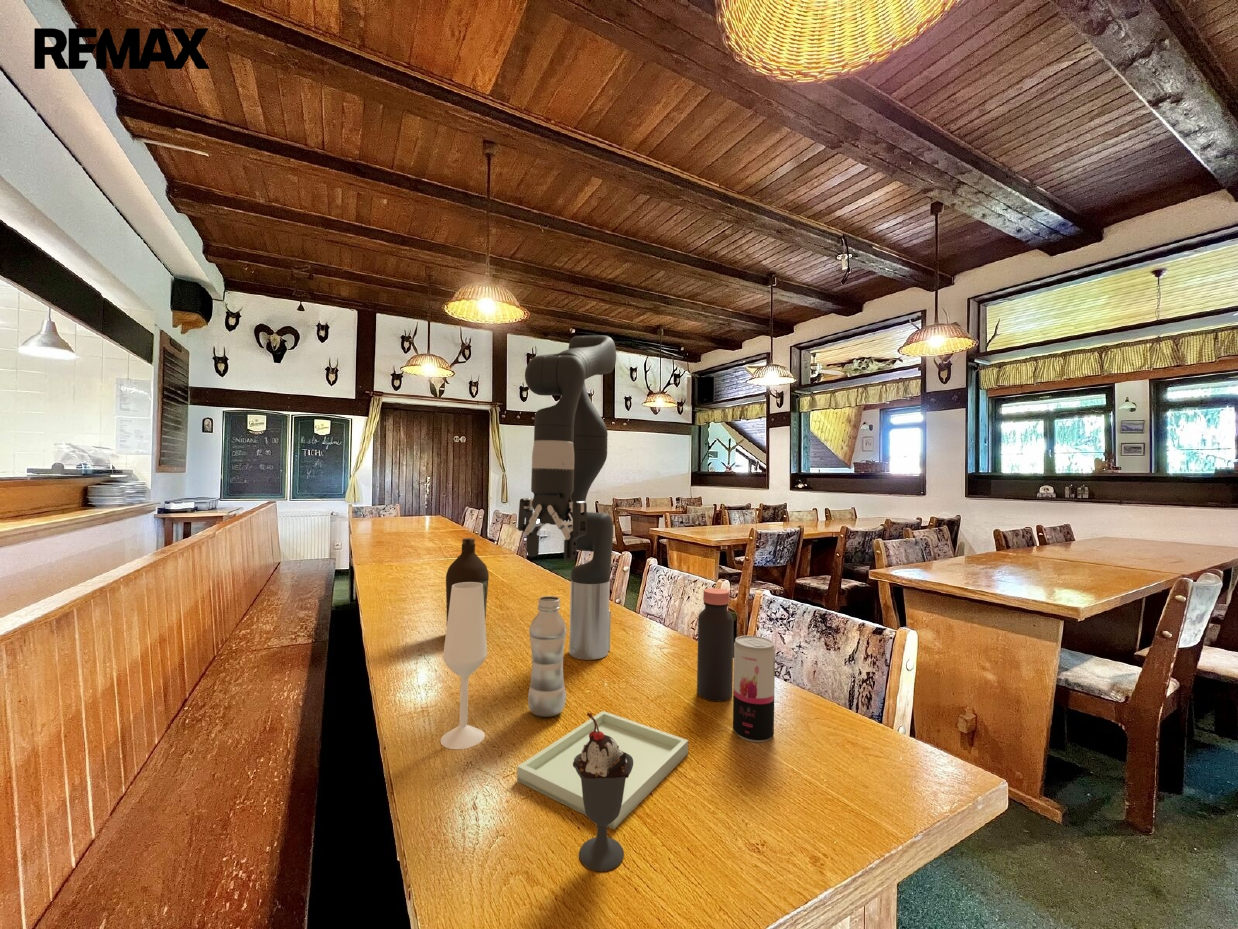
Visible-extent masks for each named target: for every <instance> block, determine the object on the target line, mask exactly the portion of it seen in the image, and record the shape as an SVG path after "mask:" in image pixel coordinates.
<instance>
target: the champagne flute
mask: <svg viewBox="0 0 1238 929" xmlns="http://www.w3.org/2000/svg"><path fill="white" fill-rule="evenodd" d="M444 639H445V640H444V645H443V652H442V653H443V654H442V658H443V661H444V663H445V665H446V666H447V668H448V669H450V671H452V672H453V673H454V674H456V675H457V676H459V677H460V690H459V691H460V694H459V696H460V697H459V699H460V700H459V725H458V726H455V727H454V728H453V729H451V730H449V731H448V732H446V733H444V735H442V736H441V738H440V744H441V746H443V747H444V748H446V749H450V750H465V749H468V748H470V749H471V748H472V747H475V746H477V745H479V744H480V743H481V742H483V740H484V739H485V736H486V735H485V732H484V731H483V730H482V729H481V728H480V729H479V728H477V727H474V726H472V725H471V724H468V707H469V705H468V703H469V702H468V701H469V677H470V676H471V675H472V674H474V673H475V672H476V671H477V670H478V669H479V668H480V667H481V666H482V665H483V663H484V662H485V660H486V658H487V656H488V645H487V627H486V619H485V611H484V595H483V584H482V583H478V582H462V583H456V584H453V585H452V589H451V597H450V605H449V613H448V621H447V620H446V630H445V638H444Z"/></svg>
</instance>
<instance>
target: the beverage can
mask: <svg viewBox="0 0 1238 929" xmlns="http://www.w3.org/2000/svg"><path fill="white" fill-rule="evenodd" d="M775 666H776V647H775V643H774V641H773V640H771V639H769V638H766V637H763V636H758V635H741V636H737V637H735V641H734V642H733V687H732V698H733V700H732V730H733V731H734V733H735V734H736V735H737V736H738V737H740V738H741V739H743V740H745V741H748V742H752V743H765V742H767V741H769V740H770V739H772V738H773V737H774V734H775V689H776V688H775V685H776V684H775V681H776V680H775V678H776V677H775V676H776V674H775V673H776V672H775V670H776V667H775Z"/></svg>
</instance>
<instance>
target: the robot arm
mask: <svg viewBox="0 0 1238 929" xmlns="http://www.w3.org/2000/svg"><path fill="white" fill-rule="evenodd" d="M616 364H617V349H616V344H615V342H614V339H612V337H610V336H609V335H602V334H601V335H600V334H599V335H597V334H596V335H595V334H594V335H576V336H573V337H572V338H570V341H569V344H568V348H567V349H565V350H563V351H560V352H558V353H550V354H540V355H535V356H534V357H532V359H530V360H529V361H528V363H527V365H526V367H525V371H524V380H525V383H526V385H527V387H528V389H529V390H530V391H531V392H532V393H533V394H535V395H539V396H561V397H560V398H559V400H558V401H557V403H555V404H553V405H551V406H547V407H543V408H540V409H538V410H537V411H536V412H535V414H534V431H533V432H534V433H533V446H532V453H531V479H530V480H531V483H530V487H531V488H530V492H531V493H533V498H532V497H531V498H529V497H525V498H524V497H523V498H520V499H519V504H518V505H519V506H518V507H519V508H518V517H517V518H518V520H517V521H518V522H517V529H518V530H517V531H519V532H522V533H524V534H525V535H526V547H525V550H526V554H527V556H528V557H536V556H539V553H540V534H539V532H540V531H541V529H542V528H543V527H544V526H546V525H547V524H549V525H552V526H553V525H554V526H556V527H557V528H558V529H559V530H560V531H561V532H562V535H563V537H564V540H563V541H564V542H563V561H564V562H568V563H569V562H573V561H574V560H575V559H576V557H577V555H578V551H580V552H592V553H593V554H592V558H591V560H590V561H588V562H585V563H582V564H578V565H575V566H573V567H572V568H571V571H570V604H569V605H570V606H569V607H570V608H569V635H568V636H569V641H568V642H569V643H568V644H569V645H568V653H569V655H570V657H573V658H574V659H578V660H585V661H586V660H587V661H591V660H593V661H594V660H598V659H599V660H600V659H602V658H605V657H607V656H608V654H609V652H610V651H611V628H612V627H611V624H612V623H611V621H612V615H611V614H612V611H611V610H610V590H611V589H610V585H611V584H610V582H611V580H610V579H611V569H612V557H613V556H612V554H613V552H612V551H613V540H614V522H613V519H612V517H611V515H610V514H609V513H606V512H592V511H591V512H590V511H588V510H587V509H588V507H587V506H588V504H587V502H586V501H587V496H588V493H589V491H590V488H591V487H592V485H593V482H594V481H595V479H596V478H597V477H598V475H599V473H600V472H601V470H602V468H603V467H604V465H605V462H606V460H607V458H608V429H607V425H606V424H605V422H604V420H603V418H602V417H601V415H600V413H599V411H598V410H597V408H596V407H595V405H594V404H593V402H592V400H591V398H590V396H589V393H588V391H587V387H586V383H585V380H587V379H589V378H591V377H593V376H601V375H608V374H610V373H612V372H613V370H614V369H615V367H616Z"/></svg>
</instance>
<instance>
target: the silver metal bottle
mask: <svg viewBox="0 0 1238 929" xmlns="http://www.w3.org/2000/svg"><path fill="white" fill-rule="evenodd" d="M560 601H561V598H560V597H557V596H555V595H554V596H553V595H552V596H550V595H548V596H541V597H539V598H538V605H537V610H538V613H537V614H536V615H535V617H534V618H533V620H532V621H531V623H530V626H529V640H530V648H531V676H530V685H529V690H528V697H527V704H528V709H529V710H530V711H531V713H532V714H533V715H535V716H538V717H541V718H542V717H543V718H545V717H546V718H549V717H555V716H557V715H559V714H560V713H562V712H563V710H564V708H565V706H566V700H567V695H566V694H567V693H566V687H565V682H564V680H565V679H564V655H565V652H564V650H565V646H566V644H565V643H566V637H567V630H568V628H567V624H566V622H565V620H564V618H563V617H562V615H561V614H560V612H559V610H561V605H560V603H561V602H560Z"/></svg>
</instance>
